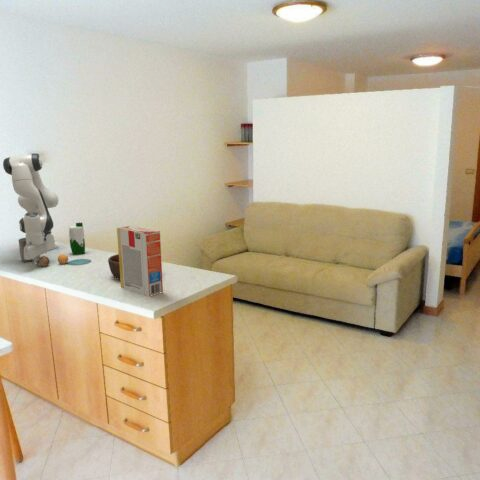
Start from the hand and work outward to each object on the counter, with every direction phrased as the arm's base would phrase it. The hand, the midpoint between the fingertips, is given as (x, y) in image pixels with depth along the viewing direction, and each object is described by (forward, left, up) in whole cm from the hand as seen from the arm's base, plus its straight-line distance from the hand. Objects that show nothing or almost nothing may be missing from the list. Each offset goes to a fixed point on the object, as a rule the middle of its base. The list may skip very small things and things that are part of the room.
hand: (37, 263), depth 267 cm
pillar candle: (-18, -5, -2) cm, 19 cm away
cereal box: (+69, +48, -2) cm, 84 cm away
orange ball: (0, +14, +1) cm, 14 cm away
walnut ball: (+1, +4, +1) cm, 4 cm away
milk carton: (-24, +24, -2) cm, 34 cm away
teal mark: (0, +23, -2) cm, 23 cm away
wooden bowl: (+42, +48, -2) cm, 64 cm away
